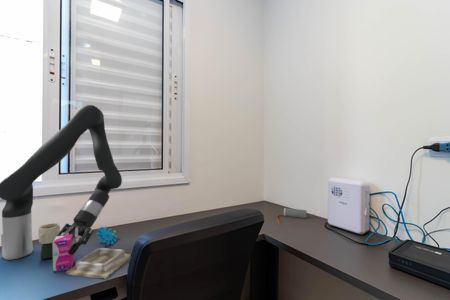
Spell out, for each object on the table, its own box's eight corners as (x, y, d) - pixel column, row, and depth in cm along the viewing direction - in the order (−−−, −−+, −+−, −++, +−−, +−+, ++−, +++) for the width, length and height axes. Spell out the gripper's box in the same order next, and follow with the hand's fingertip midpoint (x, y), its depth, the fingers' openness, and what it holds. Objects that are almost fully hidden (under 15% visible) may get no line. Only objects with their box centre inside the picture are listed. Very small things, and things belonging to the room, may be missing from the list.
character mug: (50, 250, 102) (49, 221, 101) (67, 250, 102) (66, 221, 102) (30, 263, 91) (29, 230, 91) (49, 263, 91) (48, 230, 91)
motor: (279, 213, 153) (278, 206, 152) (315, 217, 145) (315, 209, 144) (272, 231, 132) (271, 223, 131) (313, 237, 124) (313, 228, 123)
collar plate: (66, 274, 83) (65, 264, 83) (98, 253, 99) (98, 245, 99) (105, 279, 80) (105, 269, 80) (132, 256, 96) (132, 248, 96)
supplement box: (52, 272, 84) (51, 241, 84) (56, 265, 90) (56, 235, 89) (71, 269, 87) (70, 239, 86) (74, 262, 92) (73, 233, 92)
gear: (105, 245, 103) (94, 228, 105) (97, 254, 103) (85, 236, 106) (122, 239, 113) (111, 223, 116) (114, 247, 114) (104, 231, 116)
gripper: (70, 207, 98) (42, 245, 87) (95, 210, 93) (68, 251, 82) (83, 216, 103) (57, 253, 93) (107, 219, 98) (82, 259, 87)
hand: (62, 252), depth 87 cm, fingers open, 8 cm apart
